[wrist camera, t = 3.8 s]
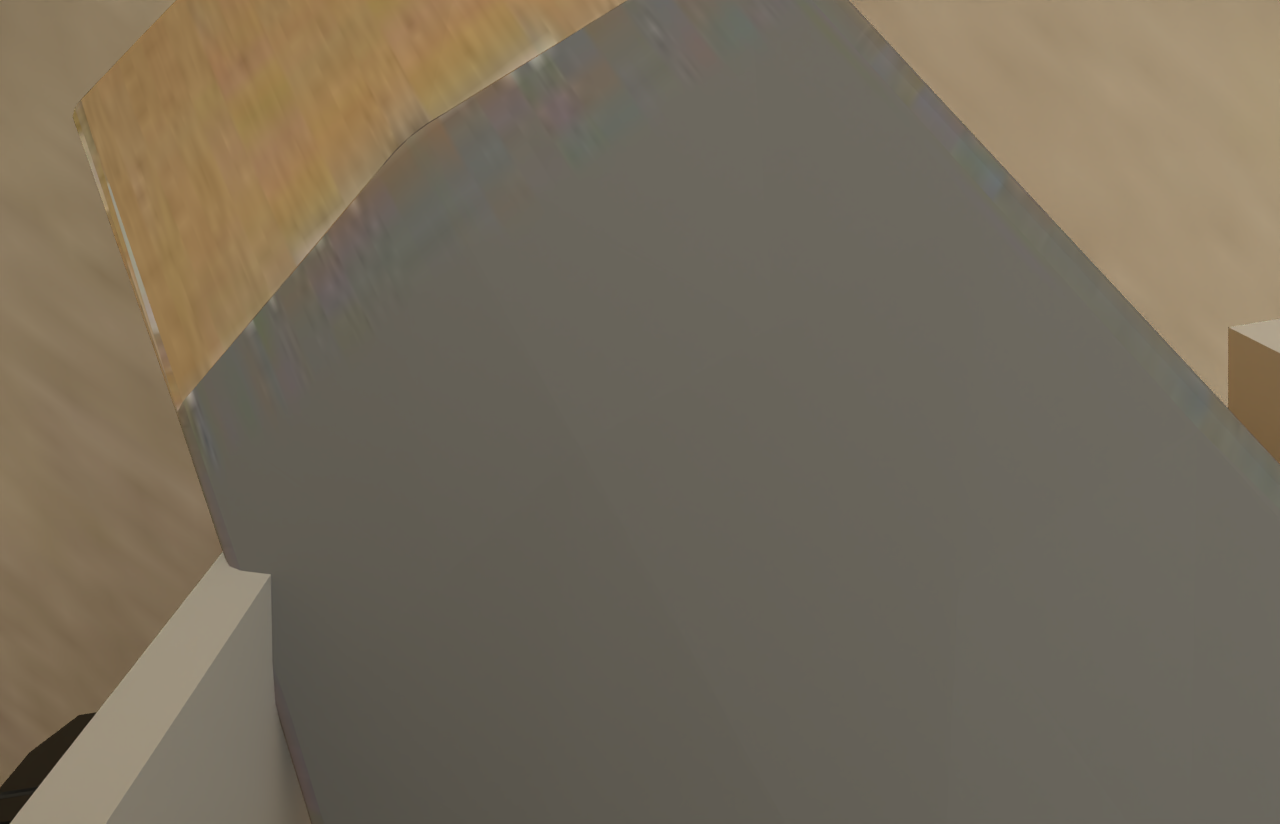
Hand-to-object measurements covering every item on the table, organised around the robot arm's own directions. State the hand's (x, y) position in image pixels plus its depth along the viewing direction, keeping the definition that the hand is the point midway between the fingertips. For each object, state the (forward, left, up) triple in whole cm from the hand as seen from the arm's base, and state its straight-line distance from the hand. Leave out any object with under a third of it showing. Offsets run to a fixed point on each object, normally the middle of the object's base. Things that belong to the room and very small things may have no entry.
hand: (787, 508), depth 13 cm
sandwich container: (-1, -1, -3) cm, 4 cm away
